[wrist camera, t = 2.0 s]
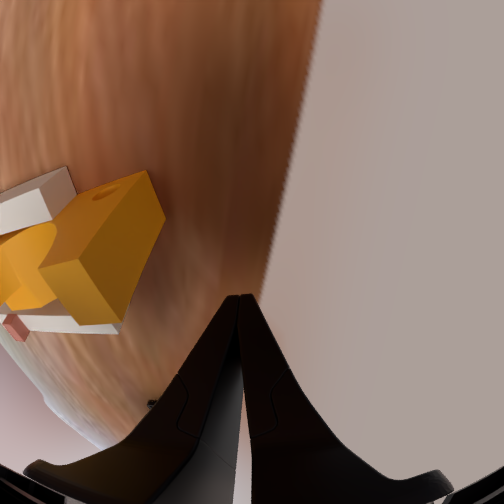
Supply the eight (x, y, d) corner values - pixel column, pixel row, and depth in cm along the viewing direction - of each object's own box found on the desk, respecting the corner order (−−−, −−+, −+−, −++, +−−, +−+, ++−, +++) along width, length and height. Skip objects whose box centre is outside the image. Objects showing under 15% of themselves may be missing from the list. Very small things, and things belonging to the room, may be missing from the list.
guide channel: (130, 305, 17) (114, 349, 14) (17, 307, 18) (0, 338, 15) (65, 164, 11) (24, 197, 9) (-39, 212, 12) (-66, 239, 10)
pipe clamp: (33, 277, 16) (-10, 348, 11) (1, 227, 14) (-54, 294, 8) (179, 246, 15) (147, 354, 9) (147, 168, 12) (78, 259, 7)
